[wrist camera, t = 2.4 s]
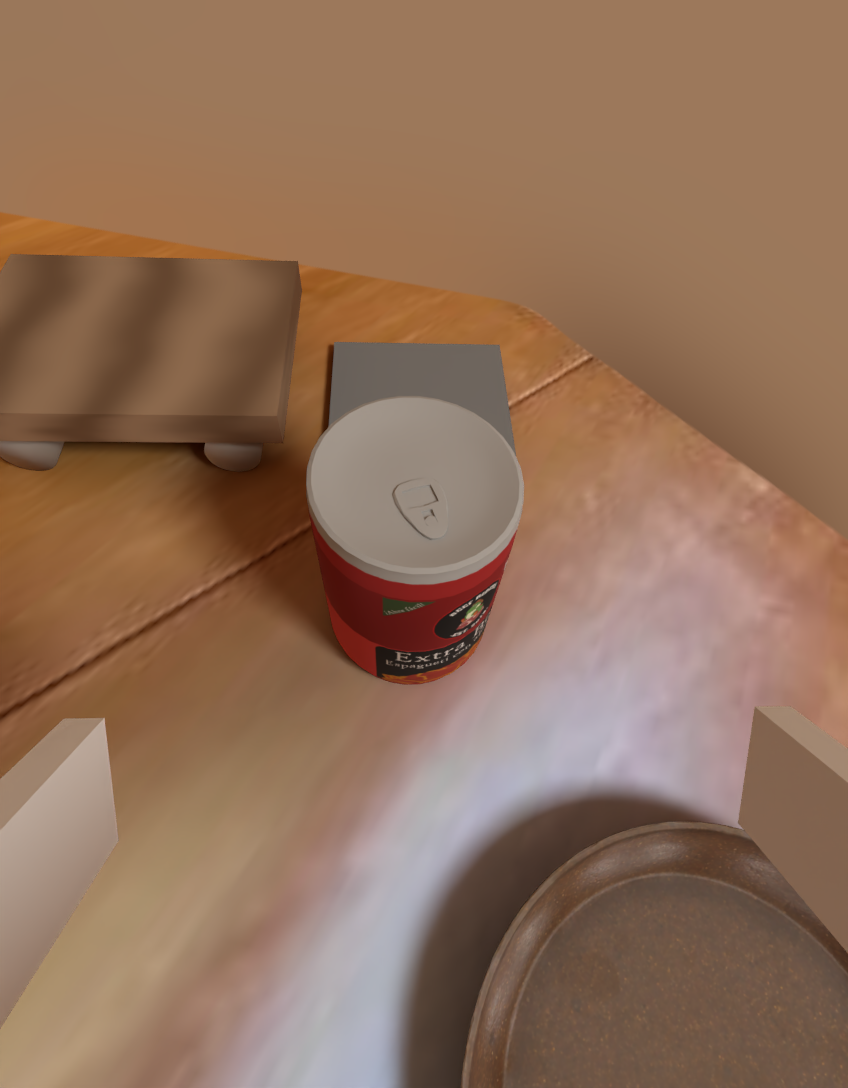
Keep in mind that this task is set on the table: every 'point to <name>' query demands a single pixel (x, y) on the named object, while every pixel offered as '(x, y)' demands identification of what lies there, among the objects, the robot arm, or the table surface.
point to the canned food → (412, 532)
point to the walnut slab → (145, 354)
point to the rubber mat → (422, 378)
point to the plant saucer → (663, 974)
